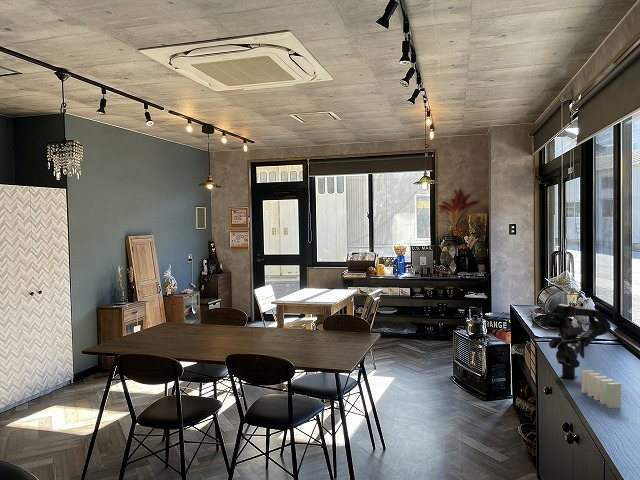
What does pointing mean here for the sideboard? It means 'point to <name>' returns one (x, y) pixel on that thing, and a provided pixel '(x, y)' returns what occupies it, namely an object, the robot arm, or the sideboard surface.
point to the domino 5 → (613, 395)
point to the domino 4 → (604, 390)
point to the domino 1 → (585, 380)
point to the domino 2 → (591, 383)
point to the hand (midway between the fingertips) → (577, 358)
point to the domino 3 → (597, 386)
